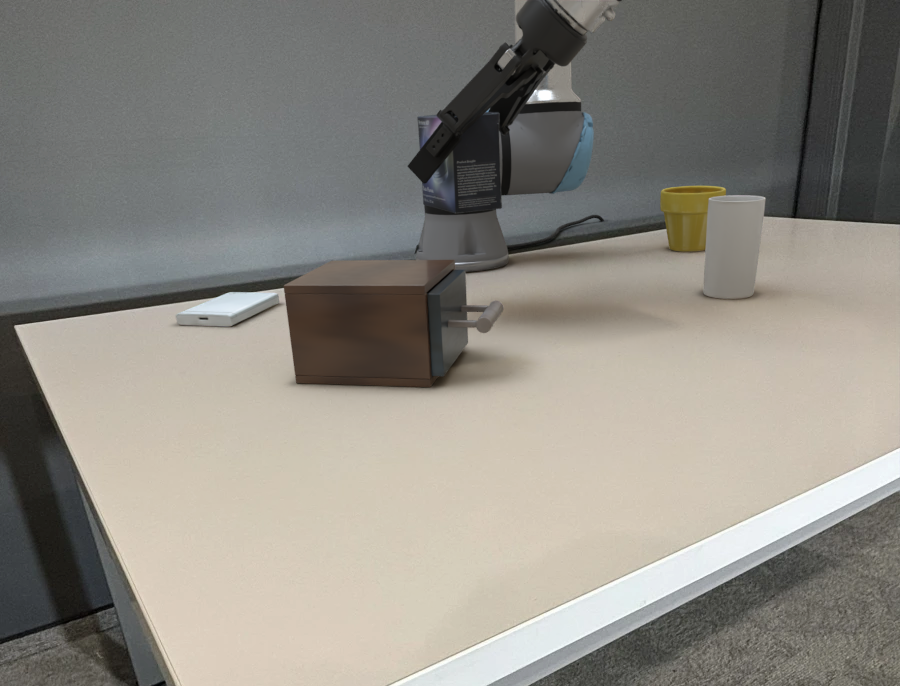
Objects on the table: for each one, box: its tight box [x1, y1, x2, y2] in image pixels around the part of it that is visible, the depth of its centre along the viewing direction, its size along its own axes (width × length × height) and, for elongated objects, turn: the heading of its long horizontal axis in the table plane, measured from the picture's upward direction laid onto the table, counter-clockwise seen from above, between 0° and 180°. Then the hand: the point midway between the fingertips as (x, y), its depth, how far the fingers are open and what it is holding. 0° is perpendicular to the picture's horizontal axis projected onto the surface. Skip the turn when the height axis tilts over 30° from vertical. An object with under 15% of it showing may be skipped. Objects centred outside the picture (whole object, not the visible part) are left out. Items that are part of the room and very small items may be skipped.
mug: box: [702, 194, 767, 300], centre depth 103 cm, size 10×7×12 cm, turn 149°
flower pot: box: [659, 185, 727, 253], centre depth 134 cm, size 10×10×10 cm
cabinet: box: [283, 259, 455, 388], centre depth 80 cm, size 14×13×10 cm
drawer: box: [427, 270, 505, 377], centre depth 79 cm, size 17×11×8 cm
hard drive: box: [175, 291, 280, 327], centre depth 106 cm, size 2×8×12 cm
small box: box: [417, 112, 503, 213], centre depth 94 cm, size 11×6×10 cm, turn 23°
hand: (437, 170), depth 95 cm, fingers closed on small box, 11 cm apart
